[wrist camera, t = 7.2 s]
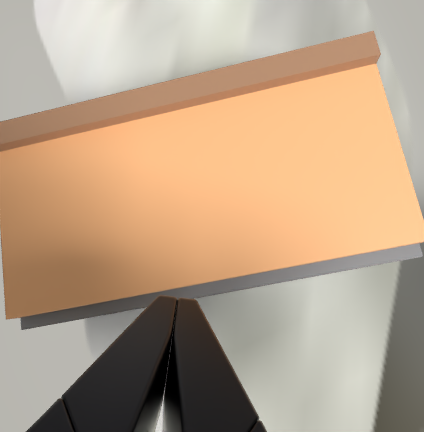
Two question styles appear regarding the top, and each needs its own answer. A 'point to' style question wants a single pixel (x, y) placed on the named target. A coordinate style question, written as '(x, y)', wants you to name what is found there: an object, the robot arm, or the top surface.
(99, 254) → the duct cover
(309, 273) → the cable duct
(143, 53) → the top surface
